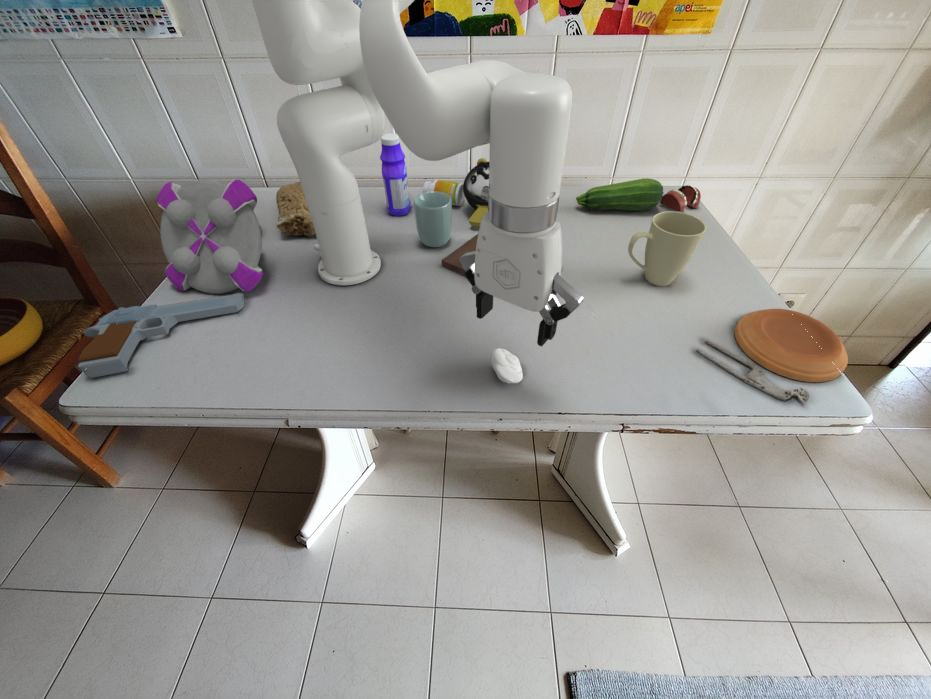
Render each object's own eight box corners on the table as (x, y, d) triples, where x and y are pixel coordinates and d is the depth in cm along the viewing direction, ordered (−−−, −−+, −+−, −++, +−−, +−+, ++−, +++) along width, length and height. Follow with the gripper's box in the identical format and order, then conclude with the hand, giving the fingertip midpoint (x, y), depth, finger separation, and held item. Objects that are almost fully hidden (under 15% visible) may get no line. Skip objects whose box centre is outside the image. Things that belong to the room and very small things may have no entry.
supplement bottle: (461, 179, 102) (425, 174, 104) (456, 200, 102) (419, 194, 104) (467, 189, 107) (432, 184, 110) (461, 209, 107) (426, 204, 109)
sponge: (328, 241, 97) (336, 187, 108) (311, 214, 90) (322, 159, 101) (275, 252, 98) (288, 197, 109) (255, 226, 92) (271, 171, 103)
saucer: (725, 302, 73) (718, 315, 76) (771, 369, 62) (761, 383, 64) (818, 301, 73) (808, 314, 75) (881, 369, 62) (868, 382, 64)
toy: (183, 130, 73) (242, 154, 87) (111, 237, 78) (178, 243, 93) (284, 233, 73) (326, 240, 88) (205, 332, 79) (257, 323, 93)
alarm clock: (456, 229, 105) (444, 164, 99) (507, 218, 109) (499, 155, 104) (476, 230, 94) (464, 158, 89) (531, 217, 99) (523, 148, 94)
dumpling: (485, 363, 68) (490, 342, 66) (516, 365, 69) (521, 345, 67) (491, 390, 62) (497, 369, 60) (525, 393, 63) (532, 372, 61)
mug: (644, 259, 88) (662, 204, 80) (690, 278, 83) (715, 222, 75) (616, 281, 83) (632, 225, 75) (663, 303, 78) (686, 246, 69)
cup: (448, 253, 91) (446, 209, 84) (413, 250, 92) (408, 206, 85) (456, 235, 96) (455, 192, 89) (423, 232, 97) (419, 189, 90)
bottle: (409, 217, 102) (400, 141, 90) (386, 217, 102) (374, 141, 90) (412, 203, 107) (404, 130, 95) (390, 203, 107) (379, 130, 95)
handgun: (71, 383, 65) (99, 323, 75) (242, 351, 71) (246, 299, 81) (57, 368, 63) (87, 308, 73) (235, 336, 69) (240, 284, 79)
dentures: (663, 185, 101) (687, 179, 105) (655, 203, 104) (678, 197, 108) (684, 196, 98) (708, 190, 101) (675, 215, 101) (699, 208, 105)
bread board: (441, 266, 87) (441, 257, 86) (478, 239, 95) (478, 231, 93) (525, 301, 79) (526, 292, 77) (558, 269, 86) (559, 260, 85)
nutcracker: (693, 349, 69) (711, 334, 71) (692, 352, 69) (709, 338, 71) (799, 410, 60) (815, 392, 61) (796, 414, 60) (812, 396, 62)
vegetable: (669, 177, 96) (581, 177, 97) (665, 210, 99) (578, 210, 99) (657, 179, 103) (574, 180, 104) (653, 210, 105) (572, 210, 106)
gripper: (440, 202, 48) (447, 317, 60) (580, 247, 40) (557, 368, 52) (478, 179, 52) (478, 291, 64) (611, 216, 45) (583, 335, 57)
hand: (513, 326), depth 58 cm, fingers open, 9 cm apart
